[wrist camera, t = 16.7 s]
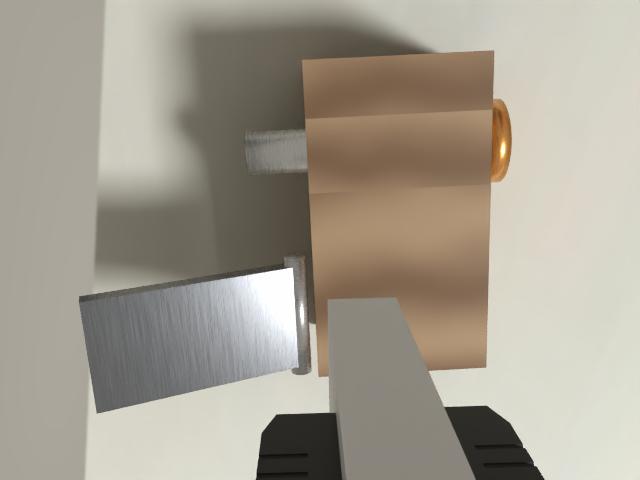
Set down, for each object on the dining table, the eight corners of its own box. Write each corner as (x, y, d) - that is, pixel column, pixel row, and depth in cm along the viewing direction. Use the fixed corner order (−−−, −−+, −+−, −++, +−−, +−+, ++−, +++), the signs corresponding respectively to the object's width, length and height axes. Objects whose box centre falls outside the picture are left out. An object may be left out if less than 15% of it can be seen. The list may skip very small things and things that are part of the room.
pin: (485, 98, 36) (513, 98, 31) (483, 176, 37) (510, 187, 33) (248, 110, 36) (239, 112, 31) (254, 188, 37) (246, 201, 32)
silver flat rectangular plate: (300, 252, 32) (77, 286, 28) (308, 257, 31) (77, 293, 27) (307, 363, 34) (97, 411, 30) (314, 372, 33) (98, 423, 29)
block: (302, 68, 37) (301, 59, 29) (454, 60, 37) (494, 50, 29) (316, 324, 41) (318, 376, 34) (452, 317, 41) (486, 367, 34)
